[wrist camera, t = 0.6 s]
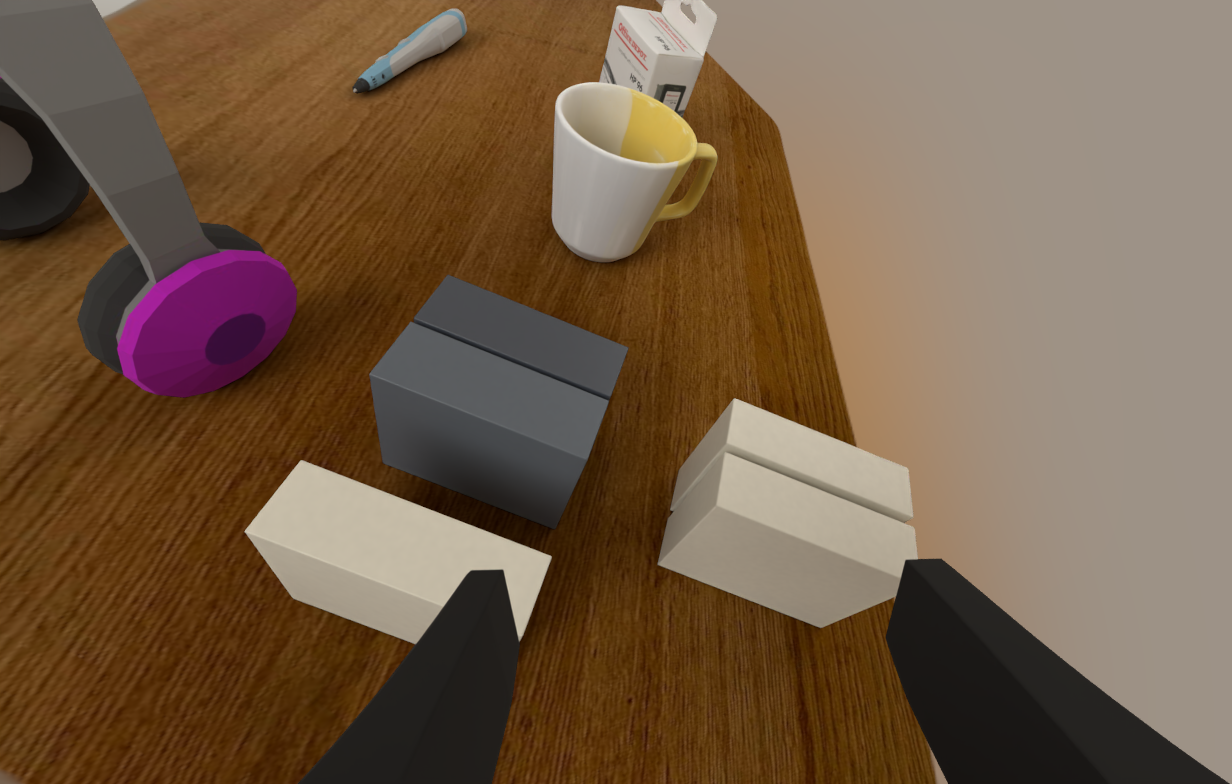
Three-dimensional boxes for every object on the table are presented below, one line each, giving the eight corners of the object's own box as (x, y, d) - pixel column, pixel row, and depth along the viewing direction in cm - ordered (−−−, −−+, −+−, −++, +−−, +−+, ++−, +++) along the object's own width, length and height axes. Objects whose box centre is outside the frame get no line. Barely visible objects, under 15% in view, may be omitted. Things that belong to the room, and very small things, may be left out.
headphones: (-100, 233, 29) (-703, -399, 14) (80, 175, 35) (-205, -321, 19) (180, 443, 27) (-171, -38, 11) (326, 345, 32) (226, -67, 17)
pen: (442, 30, 60) (442, 1, 58) (468, 41, 60) (470, 13, 58) (339, 93, 48) (335, 59, 45) (373, 107, 48) (370, 74, 45)
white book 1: (499, 675, 24) (522, 636, 18) (292, 598, 24) (243, 531, 18) (524, 611, 26) (552, 555, 20) (332, 538, 26) (301, 459, 20)
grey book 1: (576, 473, 32) (610, 396, 25) (417, 411, 31) (413, 317, 25) (593, 428, 34) (629, 347, 28) (445, 369, 33) (447, 273, 27)
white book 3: (820, 628, 30) (921, 586, 24) (657, 565, 30) (716, 505, 23) (821, 578, 32) (915, 526, 26) (667, 517, 31) (725, 451, 25)
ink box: (584, 131, 55) (623, -39, 44) (625, 133, 57) (673, -30, 46) (618, 182, 51) (671, 9, 40) (661, 181, 53) (723, 17, 42)
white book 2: (822, 570, 32) (914, 517, 26) (669, 510, 32) (726, 442, 26) (822, 526, 34) (908, 467, 28) (678, 469, 34) (734, 397, 28)
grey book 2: (554, 530, 29) (587, 460, 23) (382, 463, 29) (368, 373, 23) (574, 477, 31) (609, 400, 25) (414, 414, 31) (410, 321, 25)
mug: (540, 278, 40) (567, 151, 32) (527, 196, 46) (547, 70, 38) (701, 290, 45) (759, 180, 37) (671, 213, 51) (716, 103, 42)
